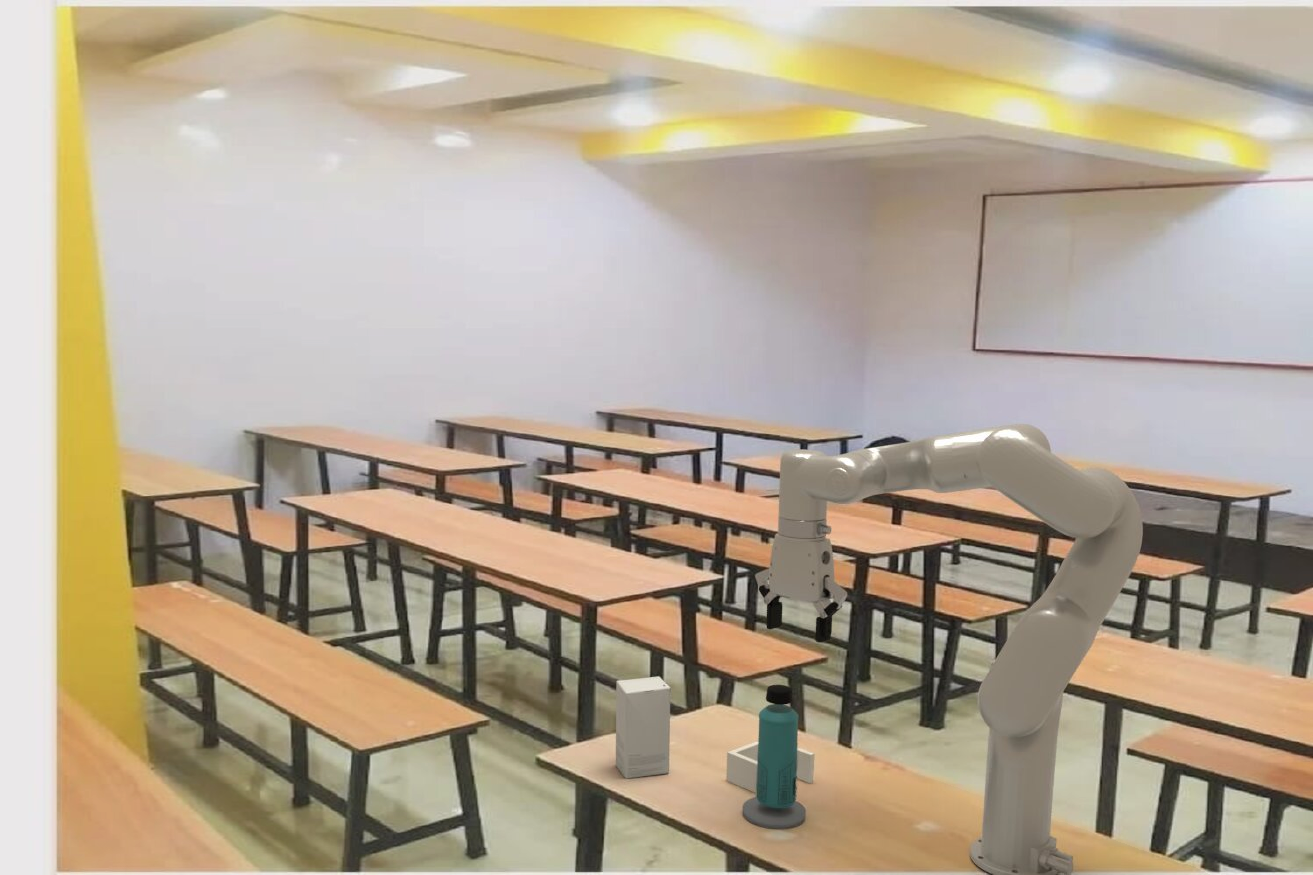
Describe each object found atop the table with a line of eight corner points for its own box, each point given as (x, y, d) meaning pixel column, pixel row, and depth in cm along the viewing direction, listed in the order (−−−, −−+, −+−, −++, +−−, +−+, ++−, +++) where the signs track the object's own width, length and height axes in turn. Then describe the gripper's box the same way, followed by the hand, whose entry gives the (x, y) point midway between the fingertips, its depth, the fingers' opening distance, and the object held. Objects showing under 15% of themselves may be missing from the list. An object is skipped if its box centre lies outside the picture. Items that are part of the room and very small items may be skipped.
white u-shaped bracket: (813, 781, 199) (814, 753, 198) (771, 799, 191) (772, 770, 190) (768, 763, 206) (769, 736, 205) (726, 780, 198) (727, 752, 198)
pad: (818, 816, 185) (818, 810, 185) (777, 834, 178) (777, 828, 178) (770, 795, 192) (770, 790, 192) (729, 813, 185) (729, 807, 185)
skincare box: (658, 760, 206) (661, 675, 204) (670, 775, 200) (673, 687, 198) (613, 765, 203) (615, 678, 201) (623, 780, 197) (626, 691, 195)
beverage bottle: (798, 818, 182) (803, 694, 180) (755, 817, 182) (760, 693, 180) (794, 800, 188) (799, 681, 186) (752, 799, 189) (757, 679, 186)
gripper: (861, 533, 180) (857, 641, 182) (773, 517, 192) (770, 618, 194) (833, 540, 175) (828, 650, 177) (744, 523, 187) (741, 627, 189)
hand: (798, 634), depth 186 cm, fingers open, 9 cm apart
